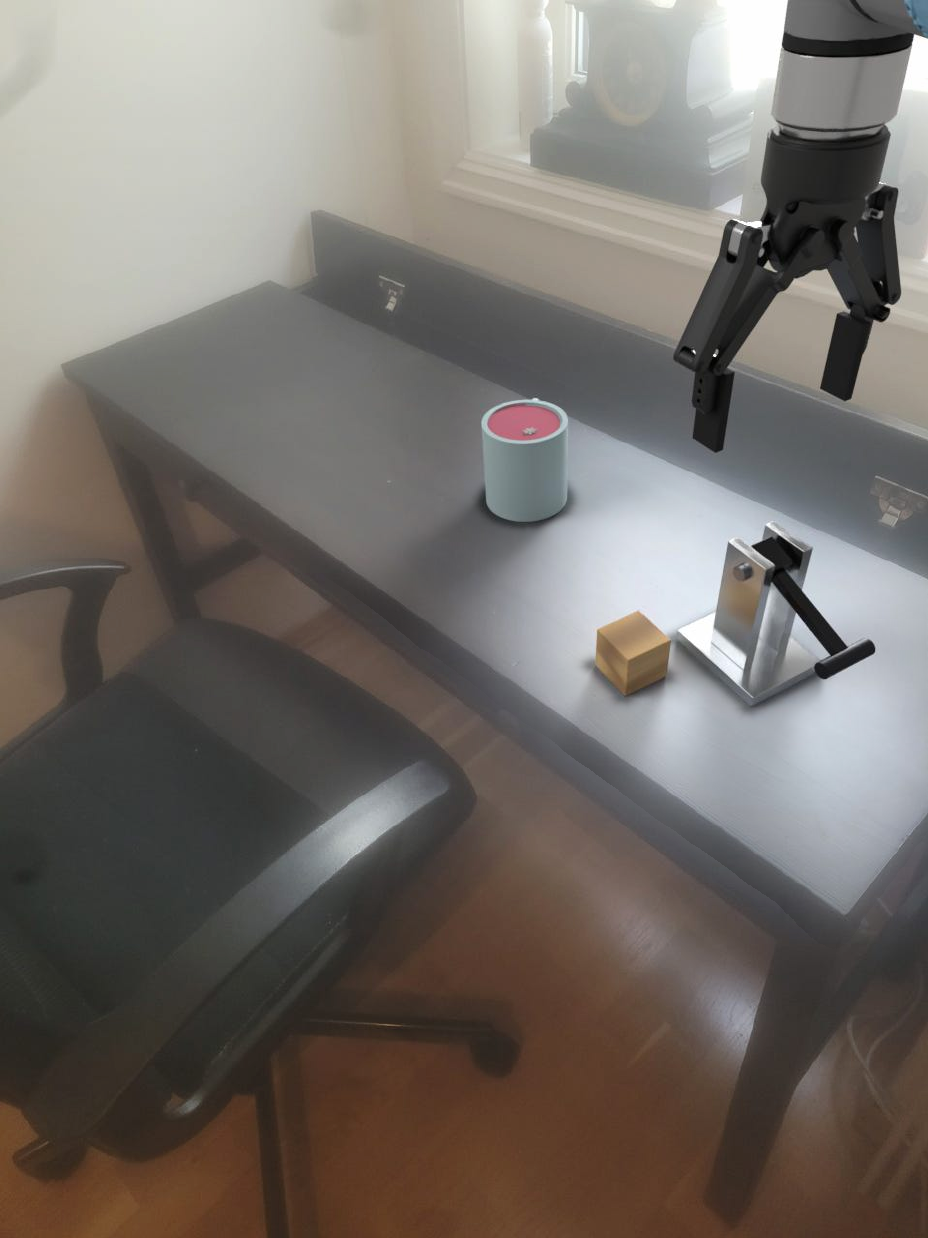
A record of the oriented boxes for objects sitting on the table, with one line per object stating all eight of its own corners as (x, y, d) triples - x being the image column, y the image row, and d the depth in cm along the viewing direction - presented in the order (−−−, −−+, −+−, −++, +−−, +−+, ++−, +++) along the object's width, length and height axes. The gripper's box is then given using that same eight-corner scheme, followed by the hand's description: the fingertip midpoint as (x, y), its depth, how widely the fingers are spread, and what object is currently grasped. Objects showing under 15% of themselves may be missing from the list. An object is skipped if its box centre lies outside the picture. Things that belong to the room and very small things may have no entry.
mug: (560, 524, 95) (561, 446, 88) (478, 518, 97) (473, 440, 90) (576, 457, 105) (578, 381, 98) (501, 452, 107) (498, 378, 100)
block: (666, 676, 78) (671, 639, 74) (625, 696, 76) (628, 660, 73) (635, 646, 81) (638, 609, 78) (594, 665, 79) (596, 629, 76)
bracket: (820, 671, 77) (854, 559, 68) (750, 707, 74) (777, 596, 66) (742, 607, 83) (764, 498, 75) (676, 639, 81) (690, 529, 72)
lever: (866, 660, 69) (882, 646, 67) (819, 685, 67) (834, 671, 65) (773, 546, 74) (785, 529, 72) (727, 566, 72) (738, 550, 70)
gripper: (918, 80, 62) (850, 358, 76) (636, 150, 54) (619, 445, 68) (1013, 97, 57) (921, 391, 71) (718, 177, 49) (681, 489, 63)
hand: (773, 418), depth 70 cm, fingers open, 13 cm apart
